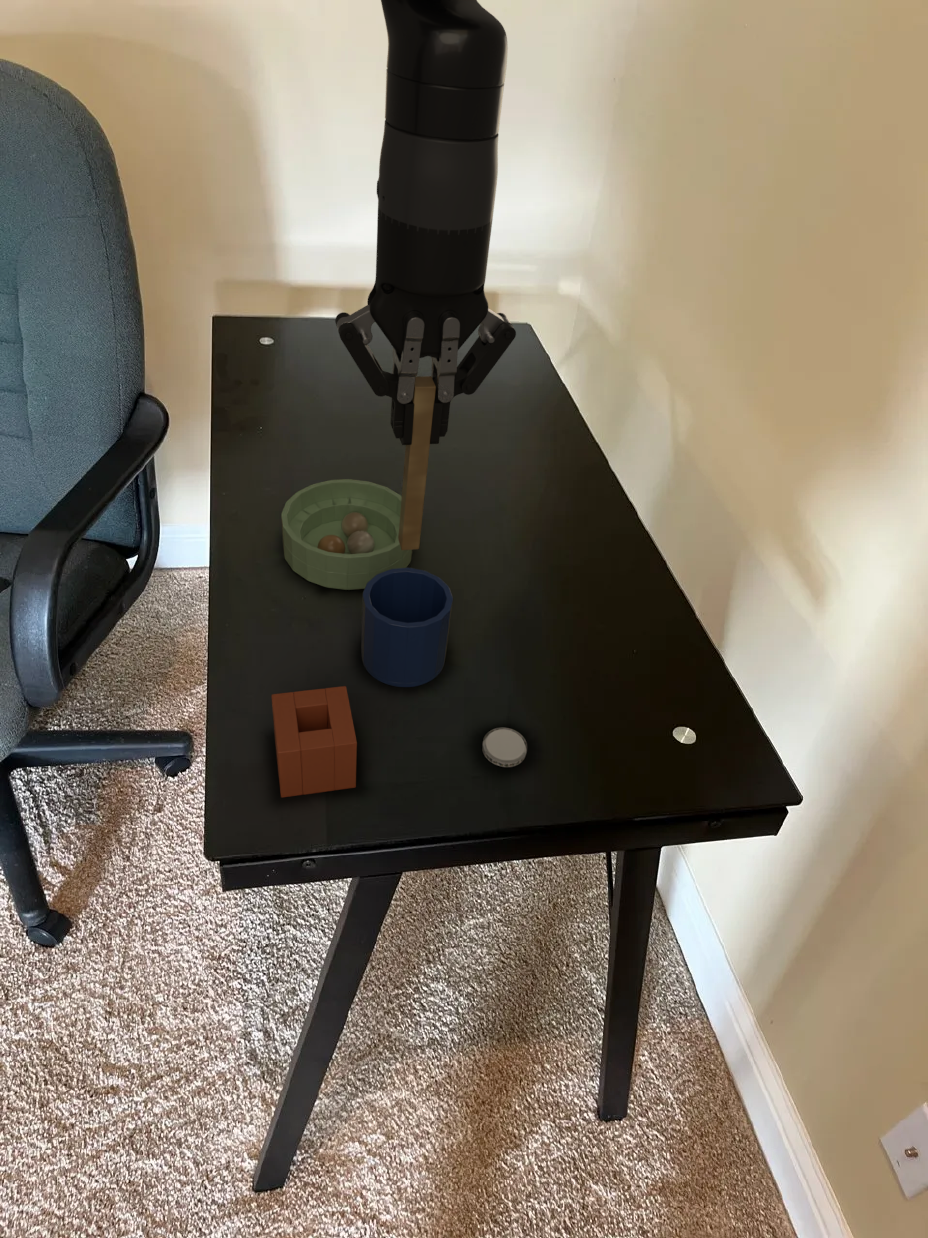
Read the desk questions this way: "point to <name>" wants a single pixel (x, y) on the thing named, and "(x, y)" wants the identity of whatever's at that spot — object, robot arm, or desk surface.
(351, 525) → the bead
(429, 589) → the crock
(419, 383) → the stick
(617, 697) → the desk surface
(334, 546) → the bead
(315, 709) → the holder
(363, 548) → the bead
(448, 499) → the desk surface
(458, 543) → the desk surface
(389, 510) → the bowl
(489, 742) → the grey bottle cap
